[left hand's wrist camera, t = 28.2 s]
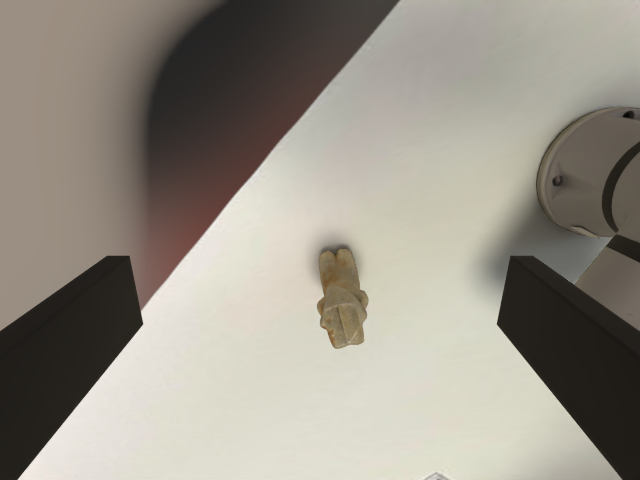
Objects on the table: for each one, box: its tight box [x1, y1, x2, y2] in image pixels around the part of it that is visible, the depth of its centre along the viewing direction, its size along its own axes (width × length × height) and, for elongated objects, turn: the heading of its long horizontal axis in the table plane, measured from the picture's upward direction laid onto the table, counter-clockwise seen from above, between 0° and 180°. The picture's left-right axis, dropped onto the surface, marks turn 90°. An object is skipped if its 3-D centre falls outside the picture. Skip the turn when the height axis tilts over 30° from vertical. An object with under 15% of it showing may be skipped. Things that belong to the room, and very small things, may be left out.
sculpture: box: [317, 249, 368, 349], centre depth 42 cm, size 6×7×15 cm
